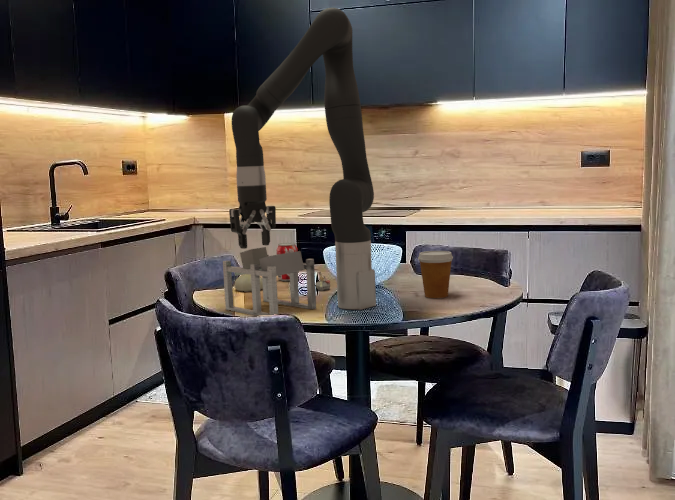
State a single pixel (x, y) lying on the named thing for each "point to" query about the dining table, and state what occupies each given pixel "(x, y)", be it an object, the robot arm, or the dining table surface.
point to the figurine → (323, 283)
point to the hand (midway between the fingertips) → (255, 246)
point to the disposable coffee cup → (435, 272)
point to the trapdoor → (282, 263)
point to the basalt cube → (253, 256)
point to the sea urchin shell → (245, 283)
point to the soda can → (284, 249)
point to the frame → (269, 288)
